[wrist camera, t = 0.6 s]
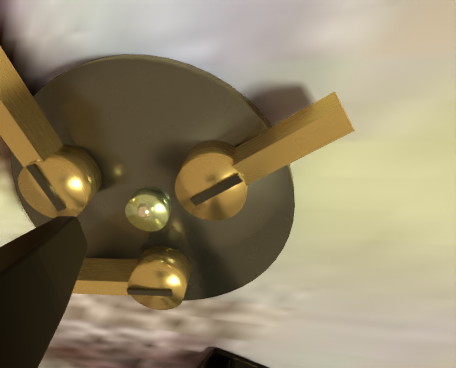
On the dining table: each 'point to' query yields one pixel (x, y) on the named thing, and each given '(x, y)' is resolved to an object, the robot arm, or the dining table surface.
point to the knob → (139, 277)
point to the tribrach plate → (164, 166)
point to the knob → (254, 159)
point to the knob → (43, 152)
